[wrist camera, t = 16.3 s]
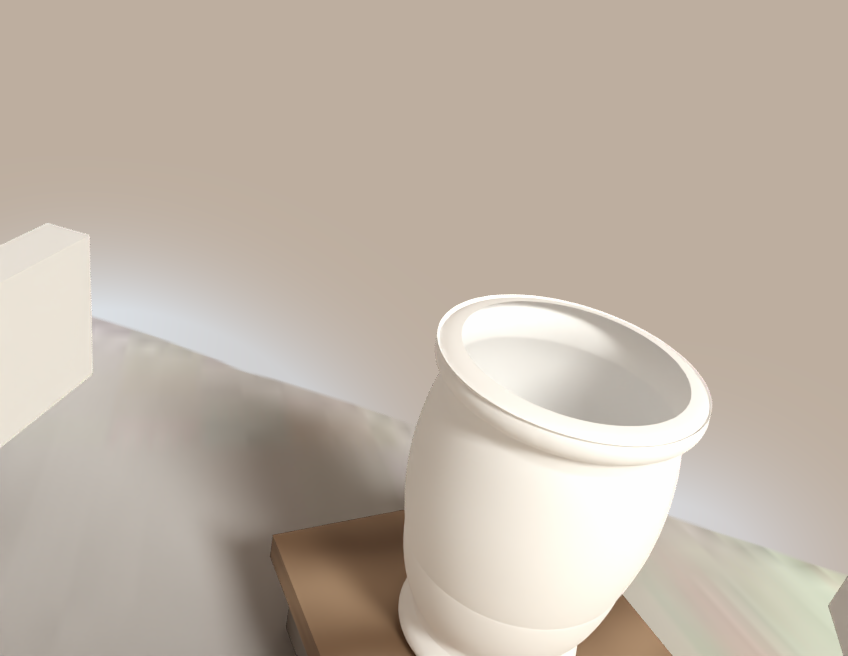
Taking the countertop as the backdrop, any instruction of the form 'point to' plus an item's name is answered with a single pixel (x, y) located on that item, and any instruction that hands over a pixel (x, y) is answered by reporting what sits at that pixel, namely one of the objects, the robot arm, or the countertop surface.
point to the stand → (388, 594)
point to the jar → (539, 474)
